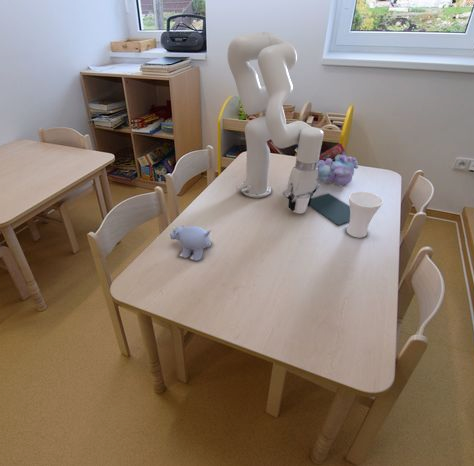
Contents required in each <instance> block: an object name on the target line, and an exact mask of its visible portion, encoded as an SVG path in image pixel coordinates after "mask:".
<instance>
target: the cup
mask: <svg viewBox="0 0 474 466" xmlns="http://www.w3.org/2000/svg"><path fill="white" fill-rule="evenodd" d="M348 203H349V206H350V222H348V226H347V228H346V233H347V234H348V235H349V236H351V237H354V238H365V237H366V236H367V234H368V230H369V229H368V227H369V226H370V223H371V221H372V219H373V217H374V216H375V215H376V213H377V212H378V210H380V208H381V206H382V205H383V204H384V200H383V198H382V197H381V196H379V195H377V194H375V193H373V192H368V191H355V192H351V193H350V194H348Z"/></svg>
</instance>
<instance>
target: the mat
mask: <svg viewBox="0 0 474 466" xmlns="http://www.w3.org/2000/svg"><path fill="white" fill-rule="evenodd" d="M309 207H310V208H312V209H313V210H314V211H316V212H317V213H319V214H321V216H323V217H325V218H326V219H327V220H329V221H331V222H332V223H334V224H335V225H336V226H341V225H344V224H347V223H349V222H350V205H348V204H346V203H345V202H343V201H341V199H338V198H337V197H335V196H333V195H332V194H330V193H326V194H321V195H319V196H316V197H315V196H314V197H311V203H310V206H309Z"/></svg>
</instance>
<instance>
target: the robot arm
mask: <svg viewBox="0 0 474 466" xmlns="http://www.w3.org/2000/svg"><path fill="white" fill-rule="evenodd" d="M256 60H257V65H258V68H259V71H260V73H261V77H262V81H263V84H264V85H261V83H260V79H259V76H258V73H257V71H256V69H255V67H253V65H252V64H250V61H251V62H252V61H256ZM297 60H298V54H297V51H296V48H295V47H294V46H293V44H291V42H288V41H287V40H285V39H283V38H281V37H280V36H277V35H276V34H274V33H271V32H269V31H261V32H252V33H250V32H249V33H245V34H240V35H238V36H236V37H234V38H233V39H231V41H230V43H229V45H228V47H227V64H228V67H229V70H230V71H231V74H232V76H233V79H234V82H235V85H236V90H237V93H238V97H239V100H240V104H241V108H242V110H243V112H244V114H245V115H247V116H254V115H258V114H262V113H264V115H261V116H259V117H255V118H252V119H251V120H249V121H248V122H247V123H246V124H245V127H244V137H245V143H246V165H245V166H246V168H245V169H246V170H245V181H243V183H242V184H241V185H237V186H235V191H236V192H240V191H241V193H242V194H243V195H245V196H246V197H249V198H255V199H259V198H266V197H268V196H269V195H270V194H271V193H272V188H271V186H269V177H270V162H271V160H270V159H271V150H270V146H269V144H268V141H269V142H270V140H271V142H272V144H273V145H274V146H275V147H276V148H278V149H287V148H289V147H291V146H296V145H298V146H297V152H296V159H295V163H294V166H293V167H292V169H291V171H290V175H289V177H288V183H287V188H286V189H285V190H284V192H283V193H282V194H283V195H284V196H285V197H286V198H287V200H288V204H287V208H288V209H289V210H290V211H292V212H293V211H294V210H295V204H296V202H295V199H296V198H297V196H298V195H301V194H305V193H308V192H309V193H310V199H309V202H308V205H307V207H310V203H311V199H312V198H314V194H315V193H316V192H317V190H318V189H319V188H320V187H321V184H320V183H318V167H317V165H318V162H319V161H320V159H319V155H321V150H322V145H323V141H324V140H323V139H324V131H323V130H322V129H321V128H318V127H313V126H311V125H310V124H308V123H306V122H305V121H303V120H296V121H293V122H290V123H287V119H286V115H285V110H284V106H283V105H284V102H285V101H286V100H287V98H288V97H289V96H290V95H291V94H292V93H293V92H294V91H293V90H294V86H293V82H292V80H291V77H290V74H289V70H291V69H293V68H294V67H295V65H296V63H297V62H298V61H297ZM293 195H294V196H293ZM292 196H293V198H292Z"/></svg>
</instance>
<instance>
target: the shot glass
mask: <svg viewBox="0 0 474 466" xmlns="http://www.w3.org/2000/svg"><path fill="white" fill-rule="evenodd" d="M293 196H294V195H293ZM293 196H292V198H293ZM309 199H310V193H309V192H308V193H305V194H301V195H298V196H297V198H296V199H295V202H296V204H295V210H294V211H292V212H293V213H295V214H304V213H306V211H307V208H308V206H307V205H308V202H309Z"/></svg>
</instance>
